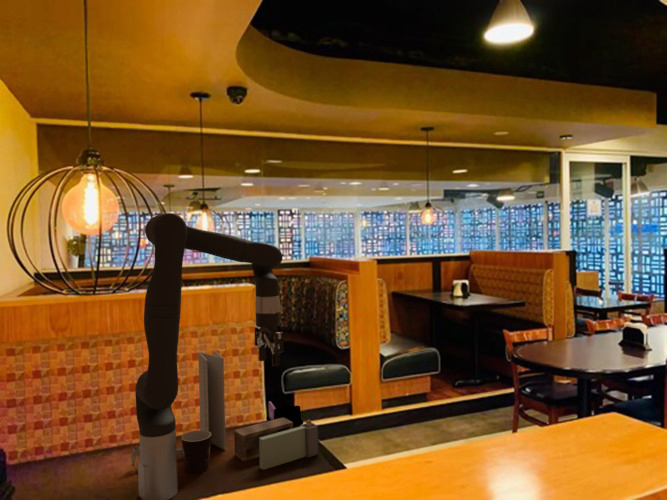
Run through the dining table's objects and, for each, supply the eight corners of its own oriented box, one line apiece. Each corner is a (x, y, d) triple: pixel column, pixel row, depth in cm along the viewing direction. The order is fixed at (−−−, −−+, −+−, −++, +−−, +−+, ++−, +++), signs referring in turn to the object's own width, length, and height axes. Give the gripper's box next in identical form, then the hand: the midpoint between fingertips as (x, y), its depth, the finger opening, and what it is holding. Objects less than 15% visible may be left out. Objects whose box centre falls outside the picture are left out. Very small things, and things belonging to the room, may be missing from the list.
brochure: (200, 437, 175) (198, 351, 175) (216, 435, 178) (214, 349, 177) (208, 453, 162) (206, 360, 162) (225, 449, 165) (223, 358, 164)
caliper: (132, 468, 152) (131, 447, 152) (131, 466, 153) (130, 446, 153) (200, 452, 161) (200, 433, 161) (199, 451, 162) (199, 432, 162)
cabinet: (257, 472, 148) (256, 435, 148) (234, 455, 161) (234, 421, 160) (314, 454, 160) (313, 420, 160) (289, 439, 172) (288, 407, 172)
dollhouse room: (272, 429, 183) (271, 410, 182) (265, 418, 194) (265, 400, 194) (304, 424, 186) (304, 406, 186) (296, 414, 198) (295, 396, 198)
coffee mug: (204, 476, 146) (203, 442, 146) (176, 474, 148) (175, 440, 148) (221, 459, 158) (220, 427, 157) (195, 457, 159) (194, 426, 159)
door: (264, 471, 149) (264, 441, 148) (258, 466, 152) (257, 436, 152) (318, 454, 160) (318, 425, 160) (311, 449, 163) (310, 422, 163)
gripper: (246, 309, 158) (247, 361, 159) (268, 314, 147) (269, 370, 147) (267, 307, 163) (268, 357, 163) (290, 311, 151) (291, 365, 152)
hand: (269, 363), depth 155 cm, fingers open, 8 cm apart
